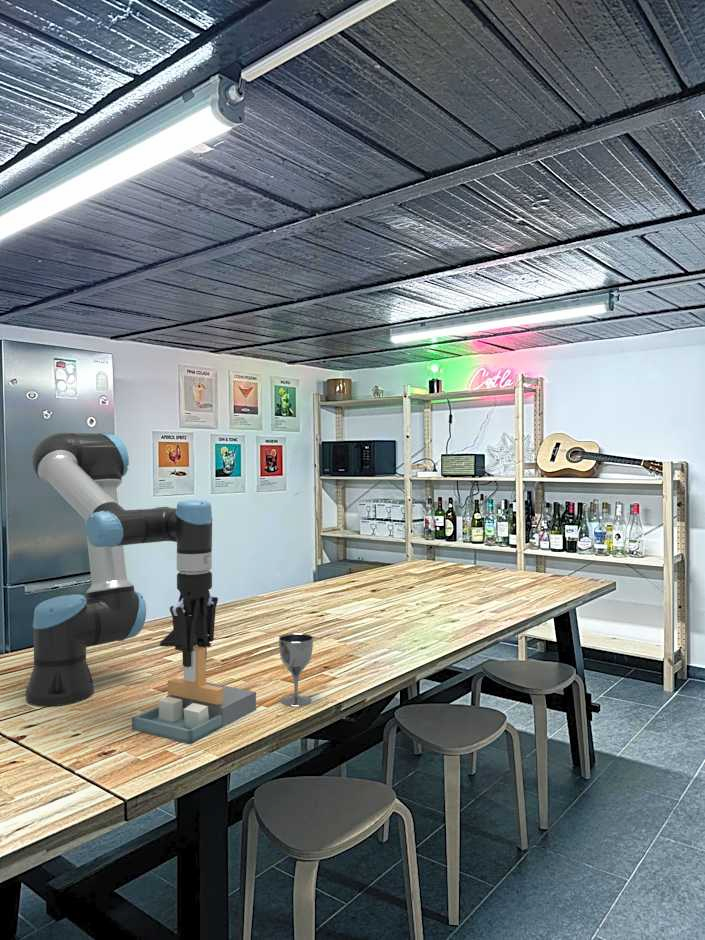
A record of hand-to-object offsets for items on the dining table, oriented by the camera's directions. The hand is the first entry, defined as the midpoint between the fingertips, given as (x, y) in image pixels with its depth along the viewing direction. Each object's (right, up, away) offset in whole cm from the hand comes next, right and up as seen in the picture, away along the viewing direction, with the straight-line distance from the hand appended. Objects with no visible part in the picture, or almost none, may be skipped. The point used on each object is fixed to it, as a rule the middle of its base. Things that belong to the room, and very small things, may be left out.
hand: (194, 678), depth 152 cm
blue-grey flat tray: (-3, -9, -5) cm, 11 cm away
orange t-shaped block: (0, -4, 0) cm, 4 cm away
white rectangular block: (+2, -6, -4) cm, 8 cm away
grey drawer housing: (+3, -9, +5) cm, 11 cm away
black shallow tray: (-16, -9, +73) cm, 75 cm away
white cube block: (-4, -6, 0) cm, 8 cm away
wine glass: (+21, -9, +12) cm, 26 cm away
